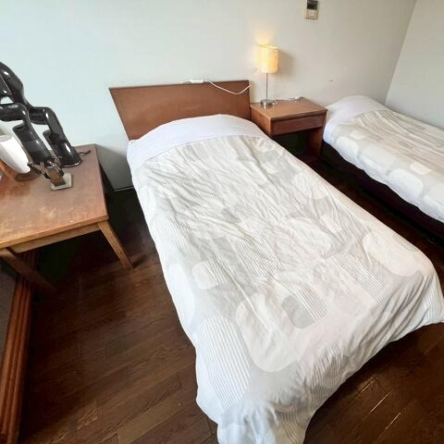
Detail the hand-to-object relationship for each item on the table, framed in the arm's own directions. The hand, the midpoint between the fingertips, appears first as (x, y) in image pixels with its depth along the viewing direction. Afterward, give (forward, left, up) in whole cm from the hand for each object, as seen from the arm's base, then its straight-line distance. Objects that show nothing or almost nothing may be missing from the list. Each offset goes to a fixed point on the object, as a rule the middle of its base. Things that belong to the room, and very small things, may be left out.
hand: (56, 177), depth 130 cm
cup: (-3, -25, -6) cm, 26 cm away
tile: (-3, -3, -6) cm, 8 cm away
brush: (0, 0, -3) cm, 3 cm away
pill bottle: (-15, -23, -6) cm, 29 cm away
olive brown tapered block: (-16, -35, -6) cm, 39 cm away
